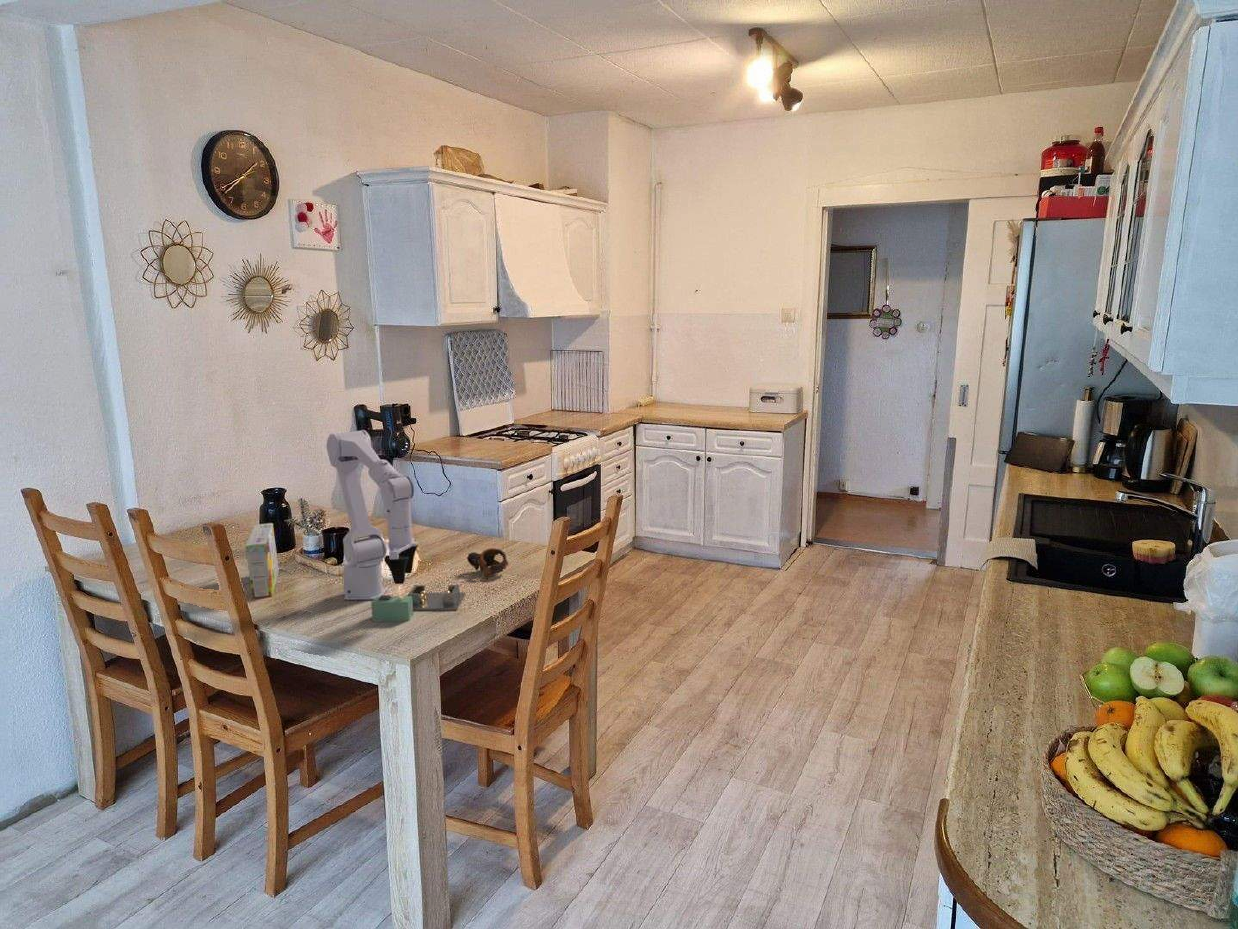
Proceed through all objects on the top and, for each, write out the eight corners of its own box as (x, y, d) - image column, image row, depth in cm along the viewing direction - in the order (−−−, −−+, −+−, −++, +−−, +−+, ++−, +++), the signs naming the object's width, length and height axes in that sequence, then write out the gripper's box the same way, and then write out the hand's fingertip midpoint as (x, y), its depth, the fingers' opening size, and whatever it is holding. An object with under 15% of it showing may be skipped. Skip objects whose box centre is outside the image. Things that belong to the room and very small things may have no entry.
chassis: (402, 610, 204) (401, 597, 203) (413, 595, 215) (412, 582, 214) (457, 610, 204) (456, 597, 203) (465, 594, 215) (464, 582, 214)
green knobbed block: (372, 621, 198) (371, 599, 197) (377, 615, 202) (375, 593, 201) (409, 621, 198) (407, 599, 197) (413, 615, 202) (411, 593, 201)
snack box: (259, 574, 233) (253, 524, 230) (279, 572, 235) (274, 522, 232) (250, 599, 214) (244, 545, 210) (273, 596, 215) (267, 542, 212)
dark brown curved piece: (509, 568, 237) (512, 549, 232) (500, 591, 230) (504, 572, 225) (469, 558, 237) (472, 538, 232) (460, 581, 230) (462, 562, 225)
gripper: (408, 533, 190) (412, 588, 193) (422, 517, 205) (425, 568, 207) (378, 534, 190) (382, 588, 193) (394, 517, 204) (398, 568, 207)
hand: (403, 578), depth 200 cm, fingers open, 7 cm apart
